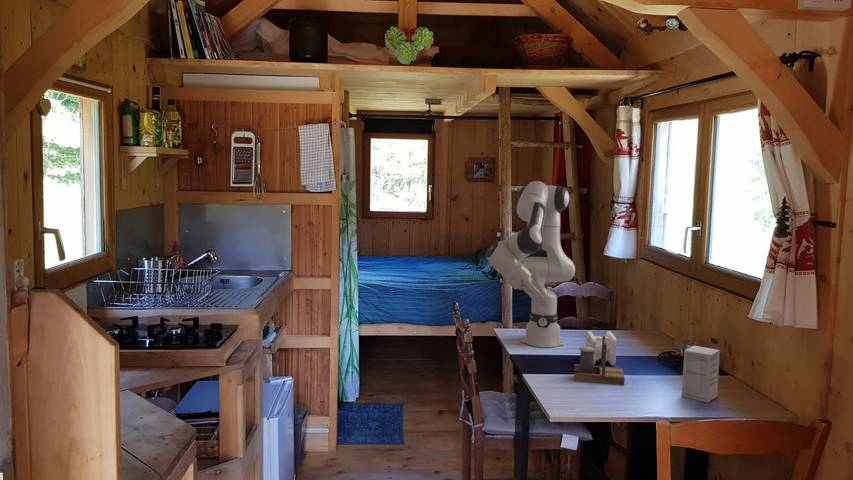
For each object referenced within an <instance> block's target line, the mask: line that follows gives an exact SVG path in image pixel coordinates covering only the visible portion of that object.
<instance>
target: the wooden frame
mask: <svg viewBox="0 0 853 480" xmlns="http://www.w3.org/2000/svg"><path fill="white" fill-rule="evenodd" d="M602 337H603V338H602V356H601V359H600V360H601V362H600V365H593V374H589V373H579V372H580V363H579V364H578V363H574V364H573V365H574V366H573V367H574V368H573V372H574V374H573V381H577V382H586V383H587V382H590V383H599V384H601V383H602V384H610V385H611V384H613V385H620V386H621V385H622V386H623V385H625V374H624V368H622V367H616V366H615V367H613V366H606V365H607V364H606V362H607V361H606V346H607V344H606V341H605V337H606V335H604V336H603V335H602Z"/></svg>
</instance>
